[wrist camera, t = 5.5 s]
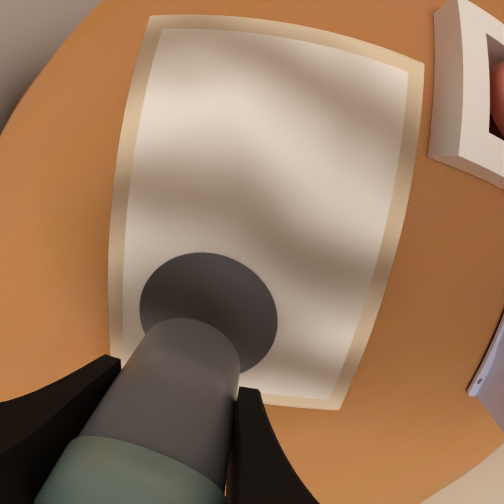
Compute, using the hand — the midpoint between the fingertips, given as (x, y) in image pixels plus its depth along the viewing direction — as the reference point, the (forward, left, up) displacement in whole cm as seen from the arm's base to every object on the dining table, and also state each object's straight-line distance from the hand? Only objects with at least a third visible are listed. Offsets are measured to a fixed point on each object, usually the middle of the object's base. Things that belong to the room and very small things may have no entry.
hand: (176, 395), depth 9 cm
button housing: (+15, -15, -7) cm, 22 cm away
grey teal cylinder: (0, 0, -2) cm, 2 cm away
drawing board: (+5, -2, -7) cm, 9 cm away
